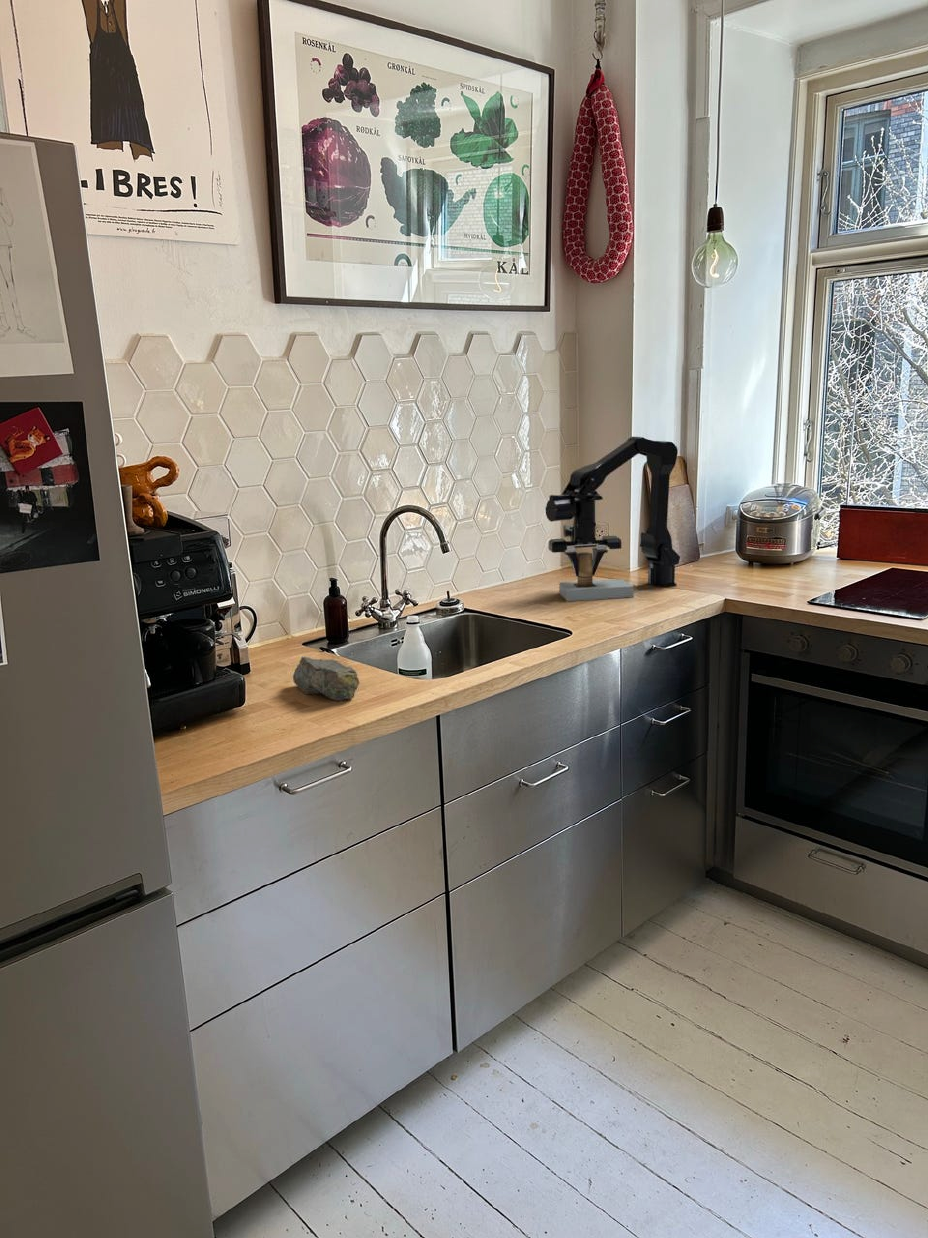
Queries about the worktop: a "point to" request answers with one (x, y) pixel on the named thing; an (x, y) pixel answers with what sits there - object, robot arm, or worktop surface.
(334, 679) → the rock
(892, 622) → the worktop surface
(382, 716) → the worktop surface
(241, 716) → the worktop surface
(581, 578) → the peg
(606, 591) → the board
